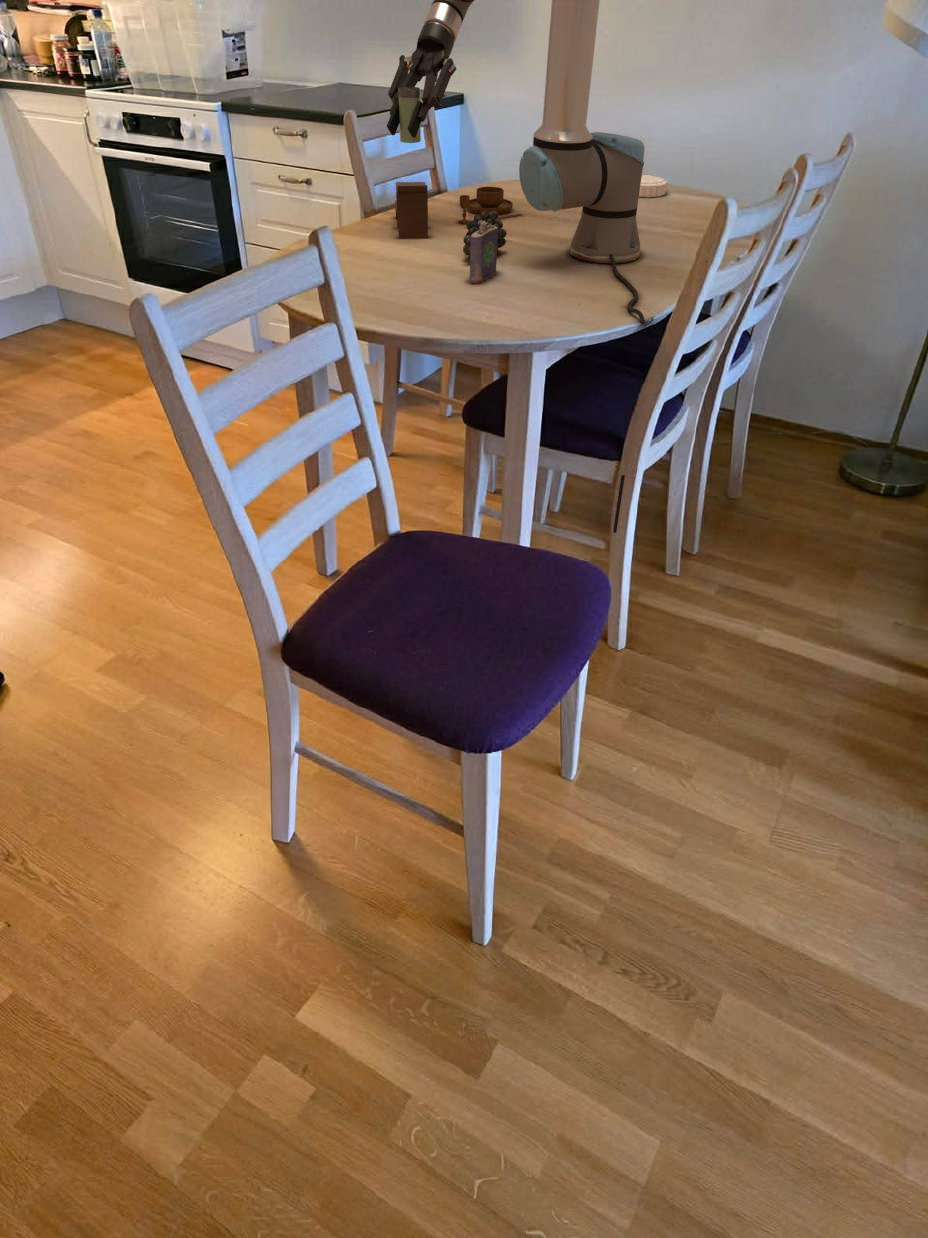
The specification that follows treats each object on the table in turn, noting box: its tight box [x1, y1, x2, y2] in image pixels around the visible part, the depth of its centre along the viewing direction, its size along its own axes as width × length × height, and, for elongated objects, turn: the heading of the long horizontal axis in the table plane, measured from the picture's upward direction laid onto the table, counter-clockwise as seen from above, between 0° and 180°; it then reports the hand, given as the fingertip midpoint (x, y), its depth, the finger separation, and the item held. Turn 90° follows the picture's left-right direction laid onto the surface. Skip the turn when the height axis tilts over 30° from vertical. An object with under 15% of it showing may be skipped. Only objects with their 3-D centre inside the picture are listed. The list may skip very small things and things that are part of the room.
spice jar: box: [398, 86, 422, 144], centre depth 182 cm, size 5×5×10 cm
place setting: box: [458, 186, 522, 225], centre depth 211 cm, size 18×20×6 cm
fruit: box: [462, 211, 508, 259], centre depth 180 cm, size 9×8×15 cm
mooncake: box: [639, 174, 668, 198], centre depth 232 cm, size 12×12×4 cm
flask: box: [469, 220, 498, 285], centre depth 168 cm, size 9×3×11 cm, turn 151°
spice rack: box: [394, 181, 429, 239], centre depth 197 cm, size 19×7×11 cm, turn 6°
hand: (401, 131), depth 181 cm, fingers closed on spice jar, 5 cm apart
